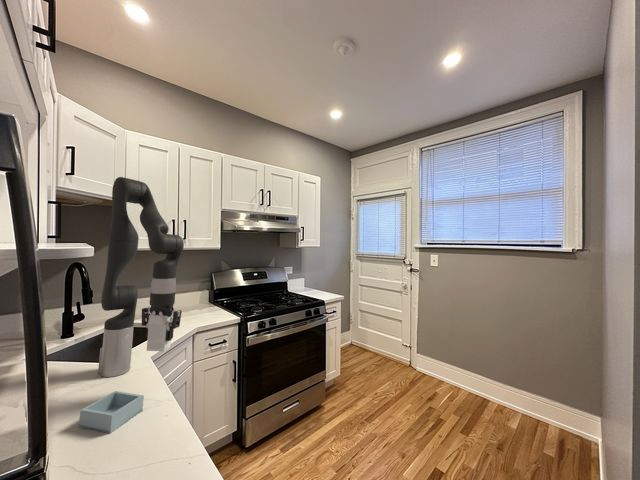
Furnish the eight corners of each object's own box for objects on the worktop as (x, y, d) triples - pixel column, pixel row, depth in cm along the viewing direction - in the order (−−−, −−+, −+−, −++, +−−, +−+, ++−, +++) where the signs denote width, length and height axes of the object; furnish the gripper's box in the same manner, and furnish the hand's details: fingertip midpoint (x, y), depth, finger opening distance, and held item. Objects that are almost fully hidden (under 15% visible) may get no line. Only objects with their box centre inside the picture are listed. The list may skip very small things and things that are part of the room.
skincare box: (170, 347, 92) (173, 313, 93) (164, 351, 88) (167, 315, 89) (153, 346, 92) (156, 312, 93) (145, 351, 88) (148, 315, 88)
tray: (78, 427, 70) (80, 409, 70) (114, 406, 80) (115, 391, 80) (110, 433, 68) (111, 415, 68) (142, 410, 78) (143, 395, 78)
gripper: (188, 291, 94) (185, 338, 93) (153, 288, 96) (150, 334, 95) (173, 294, 86) (169, 345, 85) (136, 290, 89) (132, 340, 88)
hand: (159, 339), depth 90 cm, fingers closed on skincare box, 6 cm apart
